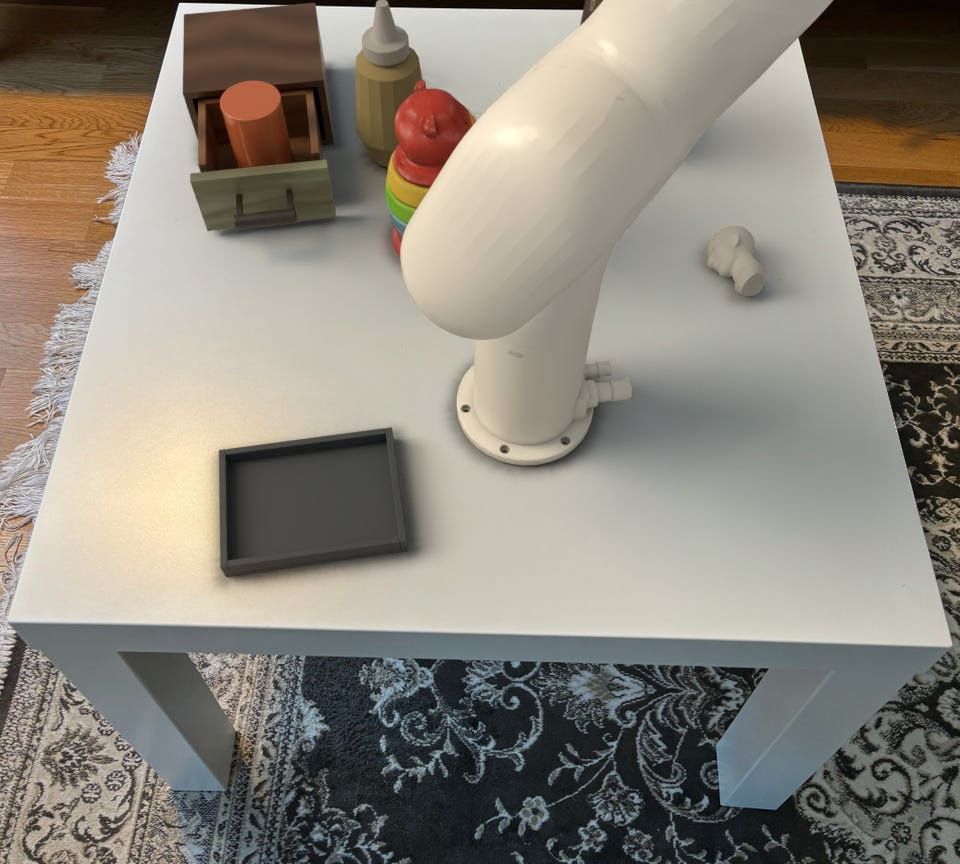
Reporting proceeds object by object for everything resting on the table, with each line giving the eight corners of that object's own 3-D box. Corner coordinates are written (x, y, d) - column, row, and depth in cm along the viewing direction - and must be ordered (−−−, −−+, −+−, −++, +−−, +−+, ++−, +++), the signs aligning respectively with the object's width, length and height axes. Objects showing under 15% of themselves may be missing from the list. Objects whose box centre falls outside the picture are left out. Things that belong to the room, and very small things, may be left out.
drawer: (339, 246, 91) (330, 197, 86) (207, 261, 90) (189, 212, 84) (327, 137, 100) (319, 85, 94) (207, 149, 99) (190, 98, 93)
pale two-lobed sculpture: (700, 253, 94) (748, 239, 93) (720, 311, 90) (771, 296, 89) (696, 226, 91) (747, 210, 90) (717, 284, 86) (770, 269, 85)
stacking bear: (491, 276, 91) (495, 136, 76) (392, 282, 90) (376, 142, 75) (482, 200, 96) (484, 56, 81) (388, 205, 96) (373, 61, 81)
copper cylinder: (294, 147, 97) (279, 77, 90) (297, 186, 94) (282, 116, 87) (239, 153, 97) (219, 83, 89) (240, 192, 94) (219, 123, 86)
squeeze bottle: (444, 158, 100) (440, 10, 84) (383, 187, 97) (367, 39, 82) (406, 118, 103) (396, -31, 88) (346, 145, 101) (324, -5, 85)
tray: (393, 438, 81) (391, 426, 79) (408, 550, 75) (406, 541, 73) (223, 460, 79) (218, 449, 78) (225, 577, 74) (220, 567, 72)
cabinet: (334, 144, 101) (323, 79, 93) (203, 158, 99) (182, 93, 92) (325, 68, 108) (315, 2, 100) (203, 80, 106) (183, 13, 99)
